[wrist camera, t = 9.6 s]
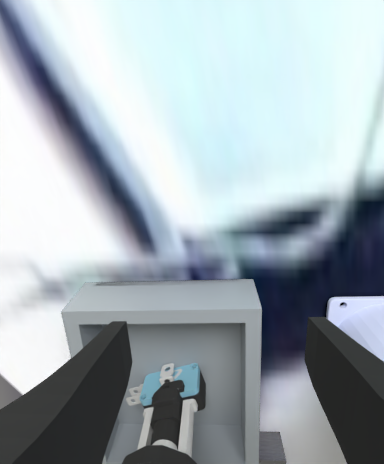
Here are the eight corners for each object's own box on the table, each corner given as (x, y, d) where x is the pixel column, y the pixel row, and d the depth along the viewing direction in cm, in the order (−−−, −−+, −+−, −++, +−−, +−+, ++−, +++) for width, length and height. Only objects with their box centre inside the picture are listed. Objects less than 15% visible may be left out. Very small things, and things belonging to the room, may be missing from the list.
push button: (143, 409, 26) (104, 565, 17) (119, 362, 25) (62, 503, 15) (215, 393, 25) (217, 550, 16) (194, 343, 24) (184, 483, 14)
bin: (253, 279, 22) (261, 308, 18) (251, 427, 27) (258, 475, 23) (85, 282, 23) (61, 311, 19) (112, 425, 28) (96, 471, 24)
